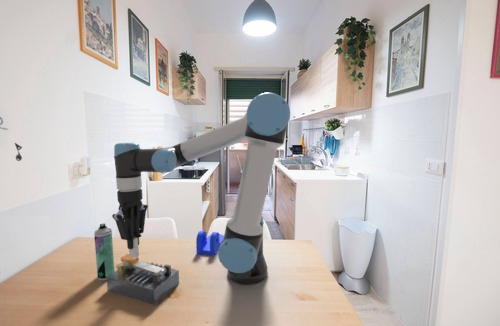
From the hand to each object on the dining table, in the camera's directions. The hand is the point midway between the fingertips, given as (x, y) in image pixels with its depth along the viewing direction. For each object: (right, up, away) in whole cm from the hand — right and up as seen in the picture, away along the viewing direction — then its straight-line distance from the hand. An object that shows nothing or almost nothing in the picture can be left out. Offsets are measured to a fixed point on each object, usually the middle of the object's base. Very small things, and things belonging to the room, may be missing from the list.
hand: (134, 256), depth 85 cm
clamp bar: (+4, -4, -1) cm, 5 cm away
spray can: (-13, -10, +6) cm, 18 cm away
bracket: (+22, -7, +31) cm, 39 cm away
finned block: (+3, -11, 0) cm, 11 cm away
